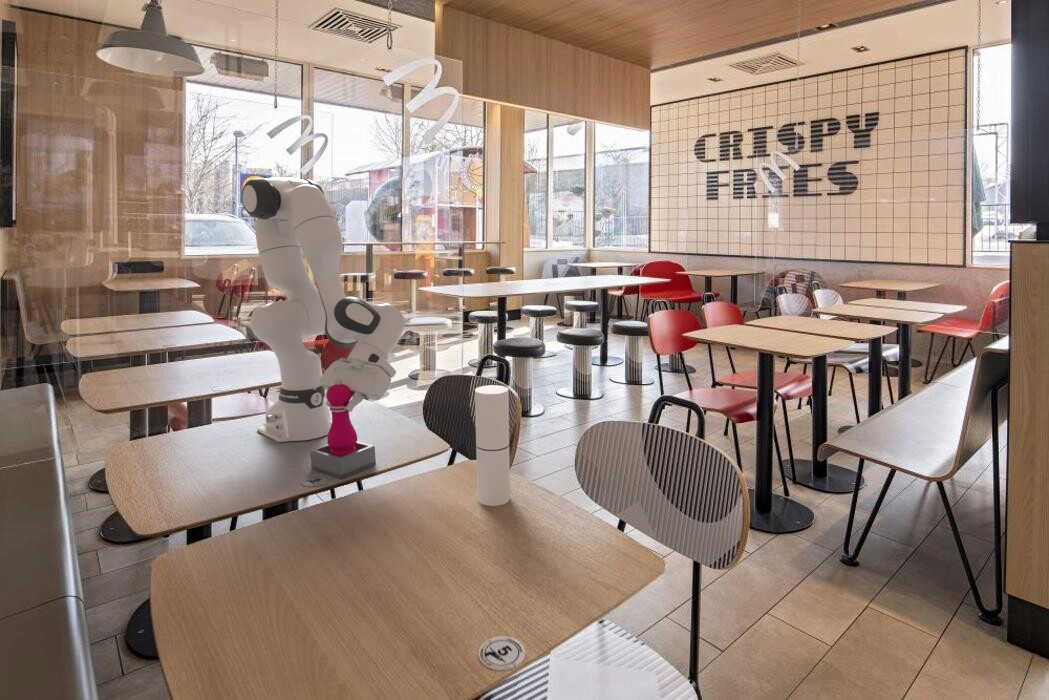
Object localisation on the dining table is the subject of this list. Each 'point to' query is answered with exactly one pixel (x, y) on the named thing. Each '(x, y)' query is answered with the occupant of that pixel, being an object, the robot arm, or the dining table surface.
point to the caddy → (343, 460)
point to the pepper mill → (340, 421)
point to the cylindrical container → (492, 444)
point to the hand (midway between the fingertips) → (338, 408)
